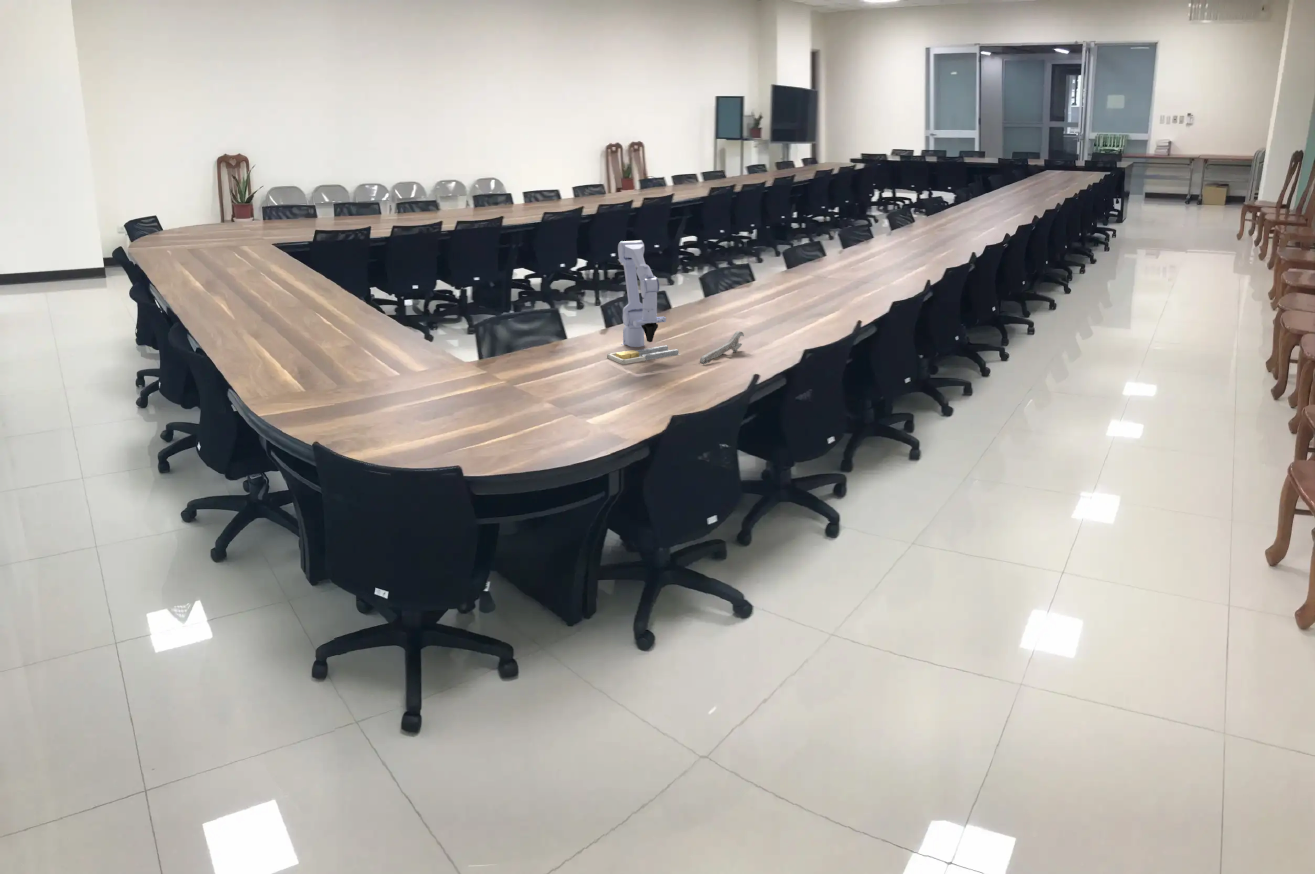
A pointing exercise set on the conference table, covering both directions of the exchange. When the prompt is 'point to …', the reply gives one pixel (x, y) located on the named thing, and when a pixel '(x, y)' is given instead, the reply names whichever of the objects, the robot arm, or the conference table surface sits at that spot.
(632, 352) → the chip
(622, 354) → the chip
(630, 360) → the grey rectangular frame
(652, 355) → the slot board
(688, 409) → the conference table surface
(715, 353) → the wrench
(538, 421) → the conference table surface
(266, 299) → the conference table surface
